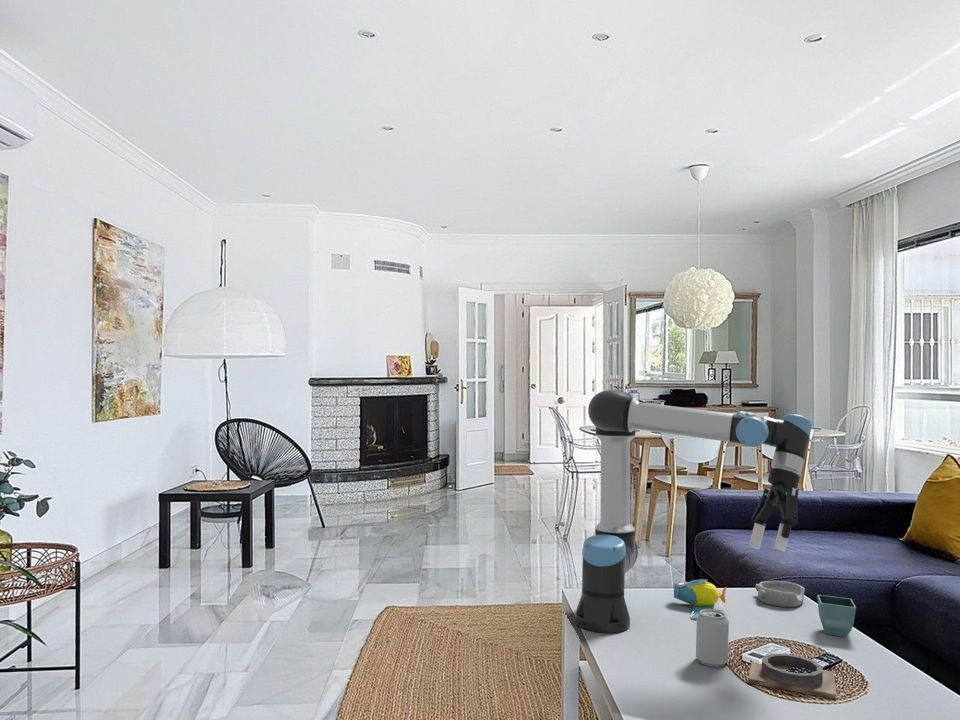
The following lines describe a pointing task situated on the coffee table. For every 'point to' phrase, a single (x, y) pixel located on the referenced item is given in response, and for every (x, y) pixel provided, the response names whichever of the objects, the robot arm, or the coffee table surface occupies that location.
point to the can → (712, 638)
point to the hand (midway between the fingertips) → (766, 549)
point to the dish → (780, 593)
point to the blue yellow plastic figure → (698, 595)
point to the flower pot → (836, 614)
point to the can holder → (793, 675)
